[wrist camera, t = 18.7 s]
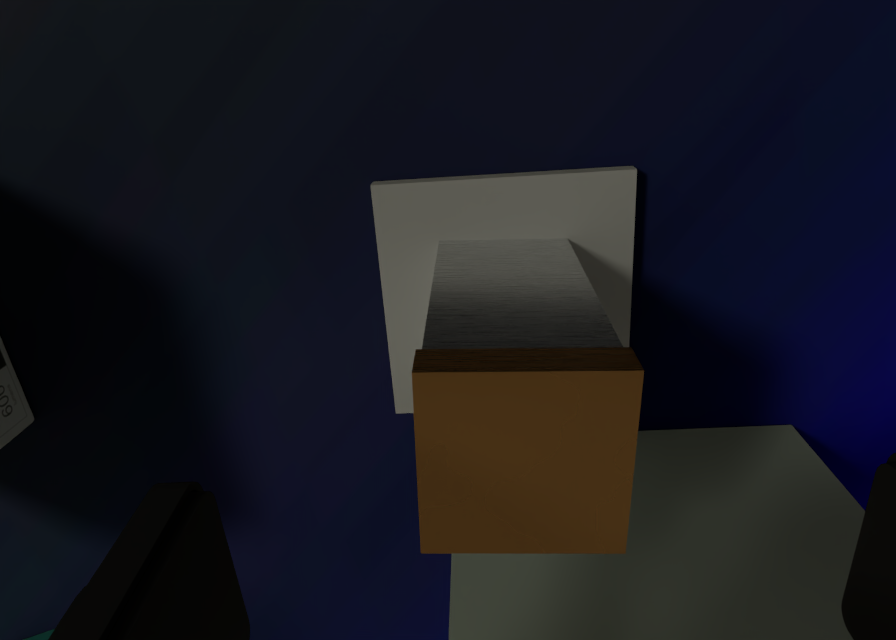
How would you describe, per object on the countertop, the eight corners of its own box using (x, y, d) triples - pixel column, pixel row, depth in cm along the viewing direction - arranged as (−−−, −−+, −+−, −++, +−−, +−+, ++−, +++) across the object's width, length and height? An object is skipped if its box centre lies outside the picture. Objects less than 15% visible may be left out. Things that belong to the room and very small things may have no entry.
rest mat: (373, 181, 20) (370, 185, 20) (632, 165, 20) (636, 169, 19) (397, 404, 23) (395, 413, 23) (622, 395, 23) (626, 403, 22)
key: (570, 235, 20) (643, 370, 12) (564, 357, 22) (625, 553, 13) (435, 237, 20) (411, 372, 12) (439, 358, 22) (420, 553, 14)
